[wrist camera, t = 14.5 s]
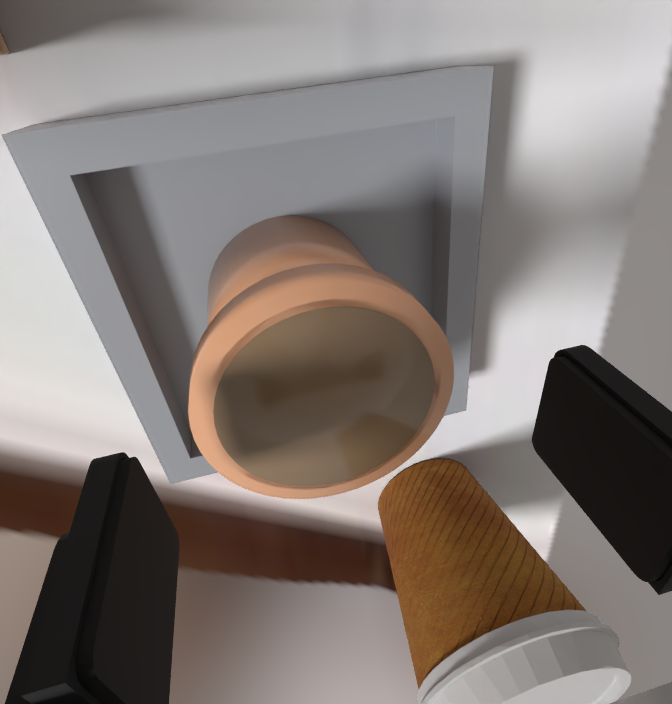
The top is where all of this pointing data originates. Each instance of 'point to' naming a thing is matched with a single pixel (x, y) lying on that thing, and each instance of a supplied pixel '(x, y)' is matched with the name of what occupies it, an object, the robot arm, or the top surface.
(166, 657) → the robot arm
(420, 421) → the terracotta pot
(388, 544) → the disposable coffee cup
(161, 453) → the slate tray
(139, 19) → the top surface
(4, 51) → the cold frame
